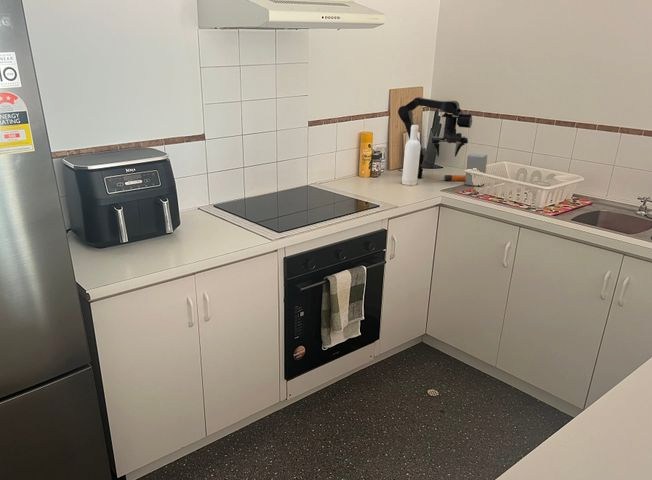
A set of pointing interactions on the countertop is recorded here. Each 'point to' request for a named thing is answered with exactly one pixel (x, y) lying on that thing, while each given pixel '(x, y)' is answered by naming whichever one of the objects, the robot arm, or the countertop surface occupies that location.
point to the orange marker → (454, 178)
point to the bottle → (411, 158)
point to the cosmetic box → (475, 165)
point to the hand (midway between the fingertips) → (446, 156)
